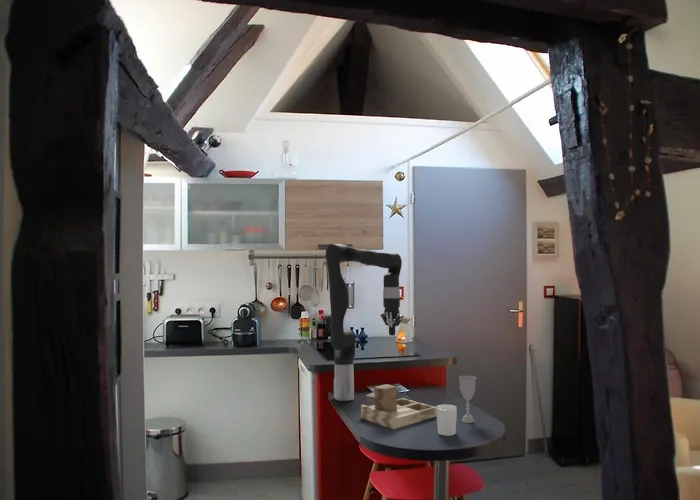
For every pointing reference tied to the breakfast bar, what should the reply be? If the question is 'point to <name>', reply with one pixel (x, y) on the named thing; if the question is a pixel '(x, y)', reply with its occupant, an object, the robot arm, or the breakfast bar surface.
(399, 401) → the box
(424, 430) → the breakfast bar surface
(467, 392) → the chalice
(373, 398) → the decorative stone
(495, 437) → the breakfast bar surface
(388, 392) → the walnut block
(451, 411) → the white cup
